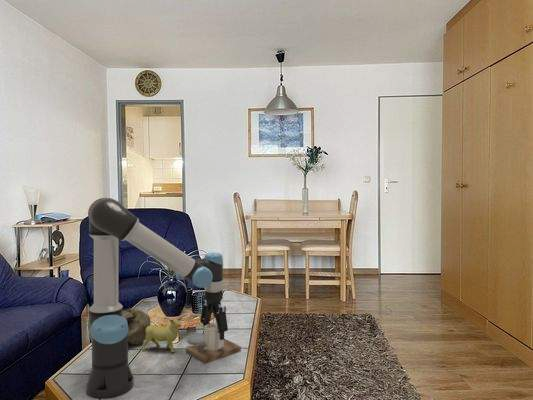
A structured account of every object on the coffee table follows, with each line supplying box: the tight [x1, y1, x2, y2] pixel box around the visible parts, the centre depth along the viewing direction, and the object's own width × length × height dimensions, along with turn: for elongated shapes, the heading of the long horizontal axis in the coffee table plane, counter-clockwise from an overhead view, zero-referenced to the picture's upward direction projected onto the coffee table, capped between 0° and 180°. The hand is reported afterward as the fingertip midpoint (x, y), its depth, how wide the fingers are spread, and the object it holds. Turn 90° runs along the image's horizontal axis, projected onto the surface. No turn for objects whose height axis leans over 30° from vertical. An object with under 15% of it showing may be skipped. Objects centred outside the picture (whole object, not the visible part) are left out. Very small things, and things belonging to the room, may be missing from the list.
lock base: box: [185, 338, 242, 364], centre depth 173 cm, size 18×14×8 cm
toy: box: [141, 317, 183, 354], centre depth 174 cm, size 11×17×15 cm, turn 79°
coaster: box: [186, 333, 205, 345], centre depth 186 cm, size 11×11×1 cm
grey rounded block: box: [204, 322, 222, 351], centre depth 172 cm, size 8×7×9 cm
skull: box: [123, 307, 151, 346], centre depth 181 cm, size 15×22×15 cm
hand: (213, 343), depth 173 cm, fingers open, 9 cm apart
